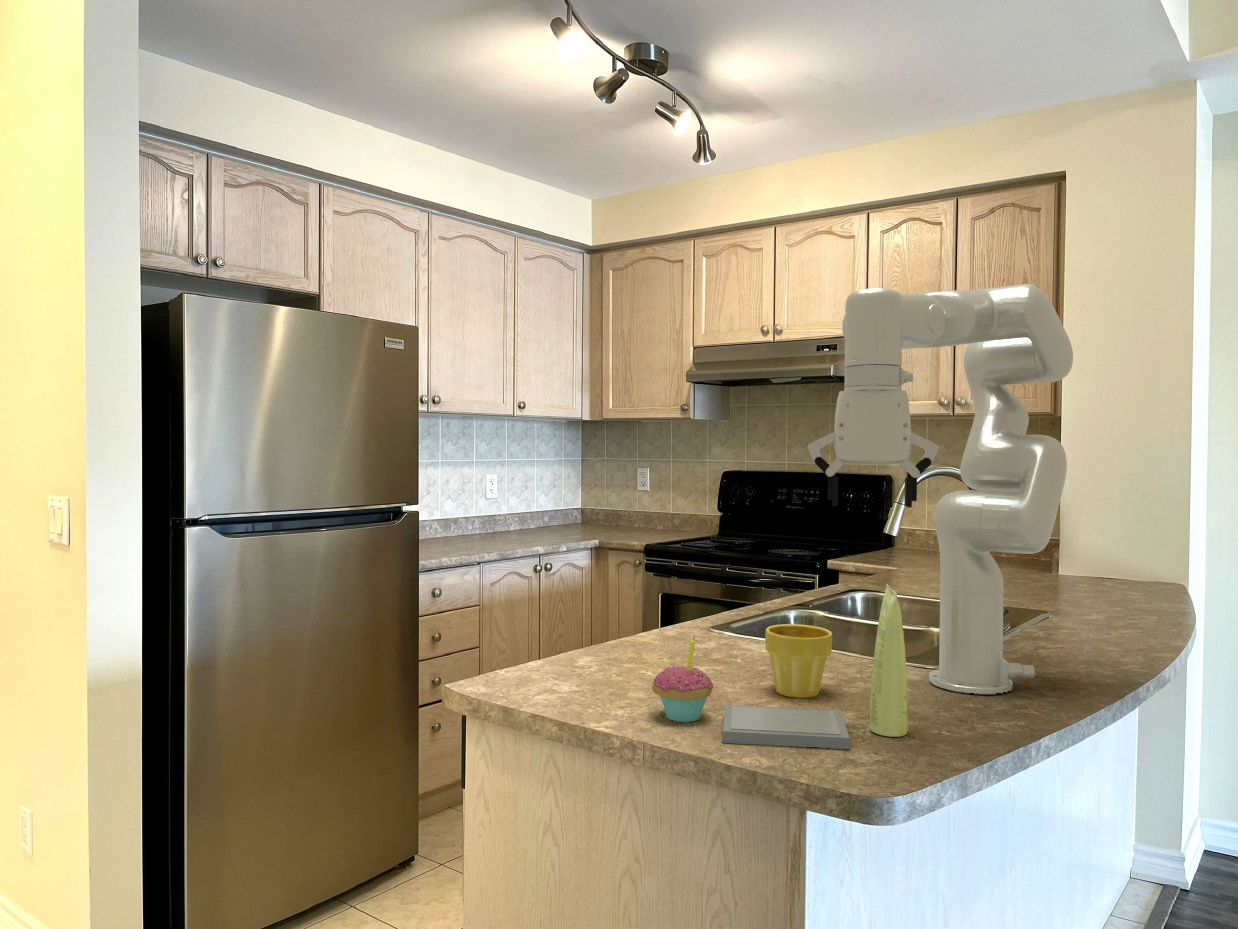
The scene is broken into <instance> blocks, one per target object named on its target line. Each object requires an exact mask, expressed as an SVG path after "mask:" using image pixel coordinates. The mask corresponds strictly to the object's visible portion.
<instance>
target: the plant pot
mask: <svg viewBox="0 0 1238 929" xmlns="http://www.w3.org/2000/svg"><path fill="white" fill-rule="evenodd" d="M764 637H765V638H764V645H765V646H764V648H765V650H766V652H767V653H769V654H768V655H769V659H770V665H771V671H772V677H773V683H774V688H775V691H776V692H777V693H778V694H780V696H785V697H790V698H798V699H801V698H802V699H804V698H805V699H806V698H813V697H814V698H815V697H816V696H818V695H819V693H820V689H821V684H822V679H823V676H824V671H825V667H826V662H827V658H828V657H829V656H831V654H832V652H833V650H832V649H833V648H832V647H833V633H832V631H831V630H829V629H826V628H824V627H820V626H815V625H807V624H792V623H787V624H785V623H784V624H774V625H771V626H768V627H767V628H766V629H765V634H764Z"/></svg>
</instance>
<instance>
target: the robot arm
mask: <svg viewBox="0 0 1238 929" xmlns="http://www.w3.org/2000/svg"><path fill="white" fill-rule="evenodd" d="M844 311H845V314H844V317H843V319H842V324H841V326H842V327H841V328H842V329H841V331H842V335H843V338H844V390H840V391H838V395H837V398H836V408H835V416H834V429H833V432H831V433H829V434H827V435H825V436H822V437H821V438H819V439H816V440H814V441H812V442H811V443H809V444H808V445H807V448H806V449H807V450H808V452H809V454H810V456H811V458H812V460H813V461H814V464H815V465H816V466H817V468H819V469H820V470H821V471H822V473H824V474H825V475H826V476H827V500H832V506H833V507H837V506H839V477H838V476H837V475H838V474H837V472H838V471H839V470H840V468H842V466H843V465H844V464H845V463H846V464H848V463H849V464H899V465H900V466H901V467H902V468H903V470H904V471H905V472H906V477H905V478H904V501H903V502H904V506H905V507H907V508H912V507H913V502H917V499H918V494H917V493H918V478H919V477H920V475H921V474H922V473H924V472H925V471H926V470H927V469H928V468H929V467H930V466H931V465H932V463H933V461H934V459H935V458H936V456H937V454H938V452H939V450H940V446H939V445H938V444H936V443H935V442H933V441H930V440H929V439H927V438H924V437H923V436H920V435H918V434H917V433H916V432H912V425H911V424H912V423H911V413H910V411H911V410H910V405H909V397H908V391H907V390H904V389H902V386H903V385H904V384H907V383H913V382H914V372H913V371H910V372H909V371H907V370H906V371H905V369H903V350H905V349H907V350H908V349H921V348H922V349H930V348H931V349H932V348H943V347H954V346H960V345H968V346H967V348H965V351H964V357H963V367H964V372H965V376H966V380H967V383H968V387H969V390H970V393H971V394H970V395H971V397H972V400H973V404H974V416H973V417H974V418H973V421H972V426H971V429H970V431H969V435H968V439H967V442H966V444H965V448H964V451H963V455H962V458H961V462H960V469H959V470H960V471H959V472H960V478H961V481H962V482H963V483H964V484H965V485H966V486H967V488H970V490H969V489H967V490H966V489H965V490H964V489H963V490H954V491H952V492H949V493H947V494H945V495H944V496H942V497H941V498H940V499H939V501H938V502H937V503H936V506H935V511H934V525H935V532H936V537H937V538H936V539H937V543H938V549H939V551H938V552H939V561H940V562H939V563H940V565H939V567H940V568H939V569H940V571H939V572H940V577H939V578H940V584H939V585H940V589H939V648H938V650H939V654H938V655H939V658H938V661H939V663H938V665H939V666H938V669H935V670H932V671H930V672H929V673H928V677H929V678H928V681H929V682H930V684H932V685H933V686H936V687H938V688H941V689H945V690H948V691H952V692H957V693H962V692H963V694H970V693H974V694H973V695H997V694H996V693H1001V694H1004V693H1003V692H1006V693H1008V691H1009V692H1010V691H1012V690H1013V688H1014V687H1013V686H1014V684H1013V682H1014V681H1013V680H1011V679H1014V677H1021V678H1031V679H1032V678H1035V677H1036V671H1035V670H1036V669H1035V667H1034V665H1031V664H1028V665H1027V664H1022V663H1019V662H1009V661H1008V660H1006V659H1005V658H1004V657H1003V647H1004V646H1003V645H1004V644H1003V642H1004V641H1003V640H1004V639H1003V637H1004V636H1003V634H1004V632H1003V631H1004V587H1005V586H1004V577H1003V573H1002V571H1001V569H1000V567H999V565H998V563H997V562H996V560H995V559H994V557H993V556H992V555H991V553H990V552H997V553H998V552H1001V553H1010V554H1026V555H1027V554H1028V555H1030V554H1033V555H1034V554H1038V553H1039V552H1042V551H1044V549H1045V548H1046V547H1047V545H1048V544H1049V541H1050V540H1051V537H1052V535H1053V534H1052V533H1053V531H1054V527H1055V524H1056V519H1057V515H1058V510H1059V506H1060V502H1061V498H1062V496H1063V490H1064V488H1065V483H1066V477H1067V470H1068V469H1067V464H1068V463H1067V454H1066V451H1065V448H1064V446H1063V445H1062V443H1061V442H1060V441H1059V440H1058V439H1057V438H1056V437H1055V438H1054V437H1052V436H1050V435H1045V434H1027V431H1028V430H1027V429H1028V426H1029V424H1030V423H1029V421H1030V416H1029V413H1028V411H1027V410H1026V407H1025V406H1024V405H1023V403H1022V402H1021V401H1020V400H1019V398H1018V397H1017V396H1016V395H1015V394H1013V393H1012V392H1011V390H1010V389H1009V388H1008V385H1027V384H1030V385H1031V384H1032V385H1033V384H1047V383H1049V384H1050V383H1056V382H1059V381H1061V380H1063V379H1064V378H1066V377H1067V376H1068V375H1069V374H1070V371H1071V370H1072V367H1073V363H1074V351H1073V348H1072V343H1071V340H1070V337H1069V336H1068V334H1067V331H1066V329H1065V328H1064V325H1063V323H1062V321H1061V319H1060V317H1059V315H1058V313H1057V311H1056V309H1055V307H1054V306H1053V304H1052V302H1051V300H1050V299H1049V297H1048V296H1047V294H1046V293H1044V291H1043V290H1042V289H1041V288H1040V287H1038V286H1036V285H1035V284H1031V283H1023V284H1022V283H1021V284H1014V285H1006V286H998V287H991V288H990V287H989V288H979V289H978V288H977V289H964V290H963V289H961V290H960V289H959V290H958V289H957V290H950V289H948V290H943V291H941V290H940V291H933V292H928V293H899V291H897V290H895V289H891V288H883V287H881V288H880V287H875V288H863V289H858V290H855V291H852V292H851V293H850V294H849V295H848V296H847V297H846V301H845V310H844ZM832 443H833V455H834V458H835V459H834V460H833V461H832V462H831V464H829V463H828V462H827V461H826V460H825V459H824V458H823V457H822V454H821V452H820V450H821V449H822V448H824V447H826V446H828V445H830V444H832ZM912 444H913V445H916V446H917V447H920V448H921V449H923V450H924V451H925V453H924V455H923V457H922V458H921V459H920V460H918V462H917V463H916V464H914V463H913V462H912V461H911V460H910V458H911V455H912ZM977 693H978V694H977Z"/></svg>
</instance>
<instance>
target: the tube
mask: <svg viewBox="0 0 1238 929" xmlns="http://www.w3.org/2000/svg"><path fill="white" fill-rule="evenodd" d="M899 602H900V601H899V600H898V593H897V592H896V591H895V590H894V589H892V588H891V586H890V585H889V584H887V583H886V588H885V592H884V594H883V599H882V602H881V606H880V613H879V618H878V623H877V630H876V631H877V632H876V637H875V646H874V654H873V665H872V674H871V675H872V676H871V688H870V689H871V691H870V710H869V730H870V731H871V732H872V733H875V734H876V735H878V736H879V735H880V736H884V737H890V738H893V737H895V738H896V737H897V738H899V737H903V736H906V735H907V733H908V679H907V678H908V676H907V661H906V660H907V658H906V647H905V638H904V636H905V634H904V627H903V626H904V625H903V617H902V611H901V606H900V603H899Z"/></svg>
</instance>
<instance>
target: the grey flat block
mask: <svg viewBox="0 0 1238 929" xmlns="http://www.w3.org/2000/svg"><path fill="white" fill-rule="evenodd" d="M723 712H724V714H723V725H722V743H723V742H724V743H723V744H736V745H737V744H741V745H754V746H755V745H756V746H776V747H789V746H793V748H807V747H816V748H815V749H826V748H830V750H844V749H851V748H850V746H851V745H850V744H851V743H850V740H851V738H850V735H849V732H848V729H847V725H846V723H845V721H844V718H843V715H842V713H841V710H840V709H839V710H838V709H820V708H802V707H801V708H800V707H799V708H798V707H784V706H783V707H779V706H759V705H758V706H756V705H738V704H724V711H723ZM796 746H797V747H796ZM817 747H819V748H817Z"/></svg>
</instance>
